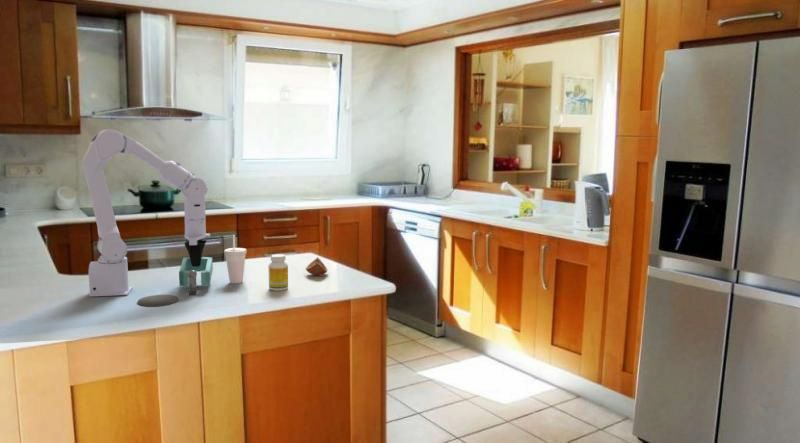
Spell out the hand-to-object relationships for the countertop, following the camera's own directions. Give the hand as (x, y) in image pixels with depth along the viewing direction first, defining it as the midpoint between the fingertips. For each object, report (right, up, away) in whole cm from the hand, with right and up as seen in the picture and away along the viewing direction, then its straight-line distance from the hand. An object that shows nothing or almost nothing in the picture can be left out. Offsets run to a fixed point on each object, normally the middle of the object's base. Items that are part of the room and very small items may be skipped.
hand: (196, 265), depth 183 cm
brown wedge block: (+33, -4, +13) cm, 36 cm away
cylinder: (+3, -7, -11) cm, 13 cm away
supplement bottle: (+25, -6, -4) cm, 26 cm away
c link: (+1, -3, -4) cm, 5 cm away
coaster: (-4, -8, -19) cm, 21 cm away
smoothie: (+11, -5, +3) cm, 12 cm away
